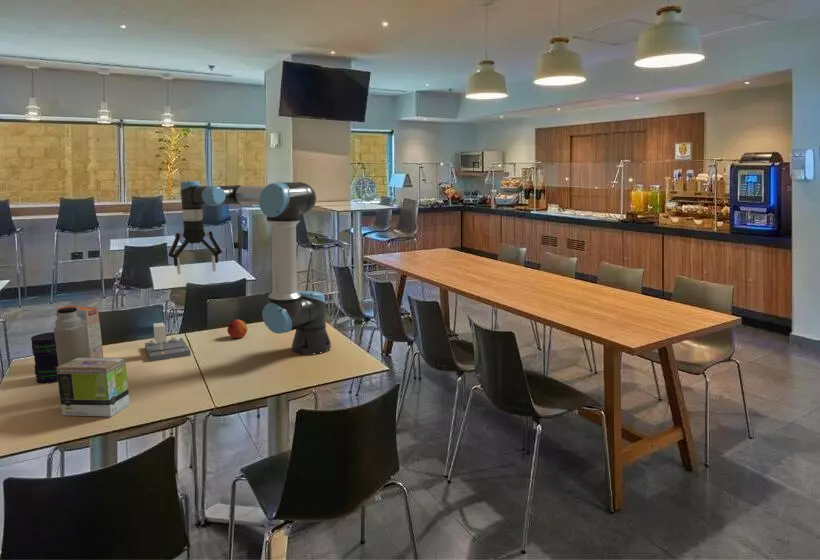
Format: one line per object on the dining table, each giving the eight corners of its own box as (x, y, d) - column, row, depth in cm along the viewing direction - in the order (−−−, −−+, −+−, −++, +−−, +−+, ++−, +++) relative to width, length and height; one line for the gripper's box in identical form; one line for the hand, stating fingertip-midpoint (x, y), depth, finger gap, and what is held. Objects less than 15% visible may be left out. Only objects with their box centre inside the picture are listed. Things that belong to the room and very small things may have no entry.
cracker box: (105, 362, 211) (99, 306, 207) (91, 367, 205) (84, 310, 201) (76, 358, 215) (70, 304, 211) (61, 363, 210) (55, 307, 206)
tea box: (131, 404, 171) (126, 356, 169) (110, 418, 161) (105, 367, 159) (83, 402, 173) (78, 355, 170) (60, 416, 163) (54, 366, 160)
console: (190, 355, 218) (189, 346, 217) (150, 361, 211) (149, 352, 210) (182, 342, 235) (181, 334, 234) (145, 347, 228) (144, 339, 228)
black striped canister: (29, 381, 191) (23, 338, 189) (57, 372, 200) (52, 330, 197) (48, 385, 187) (43, 341, 185) (76, 376, 196) (72, 333, 193)
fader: (167, 350, 216) (165, 325, 215) (157, 352, 215) (155, 327, 213) (165, 346, 221) (163, 322, 220) (155, 347, 220) (153, 323, 218)
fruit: (227, 336, 245) (226, 317, 243) (247, 334, 247) (246, 316, 246) (227, 341, 237) (226, 322, 236) (248, 339, 240) (247, 320, 238)
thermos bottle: (56, 402, 173) (45, 311, 168) (70, 392, 181) (59, 305, 176) (84, 401, 174) (74, 311, 169) (96, 391, 182) (87, 305, 177)
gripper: (223, 218, 238) (226, 268, 242) (158, 220, 226) (162, 273, 230) (227, 219, 232) (230, 271, 236) (160, 222, 220) (165, 276, 223)
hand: (196, 272), depth 233 cm, fingers open, 13 cm apart
